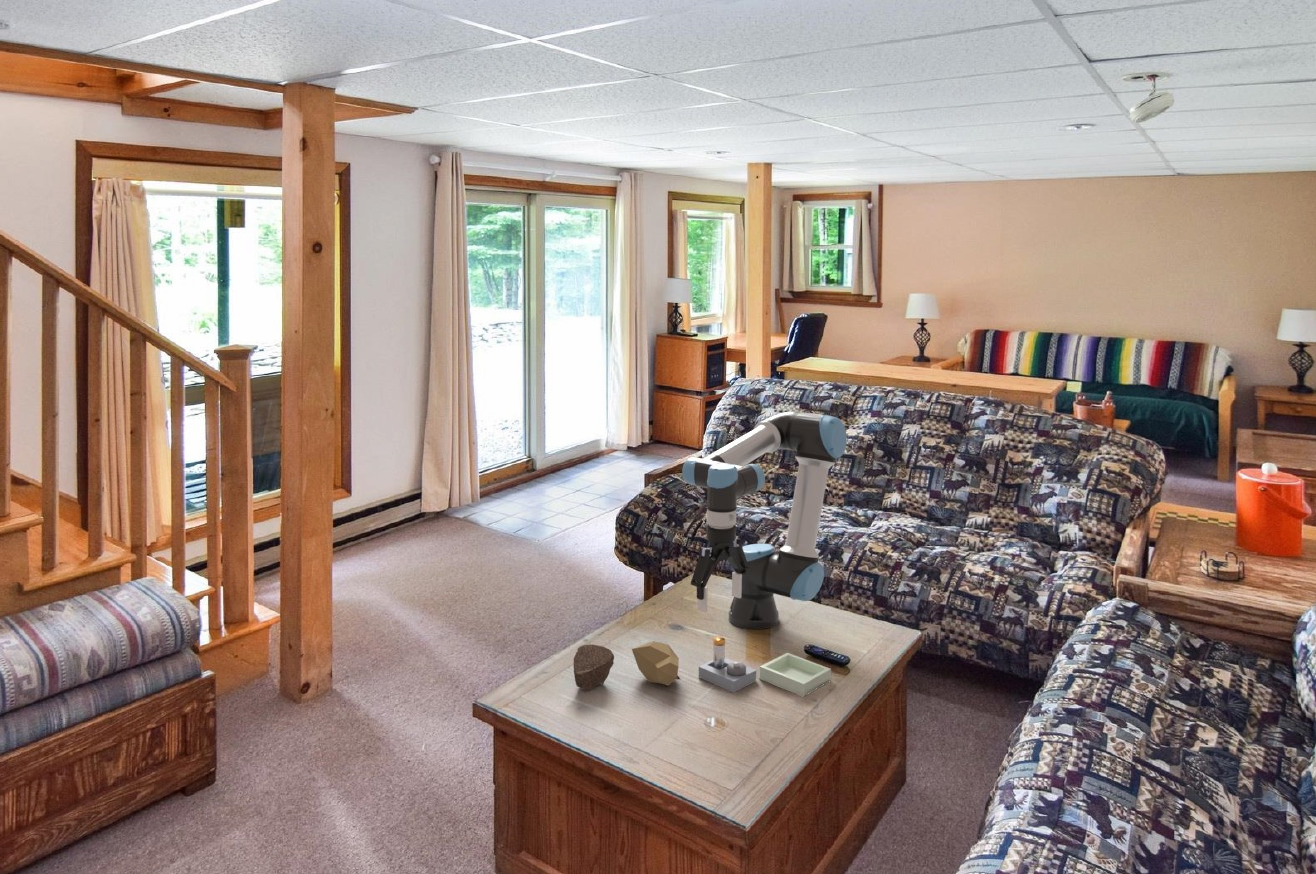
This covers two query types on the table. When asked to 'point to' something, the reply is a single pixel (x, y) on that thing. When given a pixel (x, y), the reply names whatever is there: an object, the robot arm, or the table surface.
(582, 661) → the rock
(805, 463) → the robot arm
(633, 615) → the table surface
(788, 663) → the tray
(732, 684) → the block
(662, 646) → the low-poly potato
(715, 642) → the lock pin
